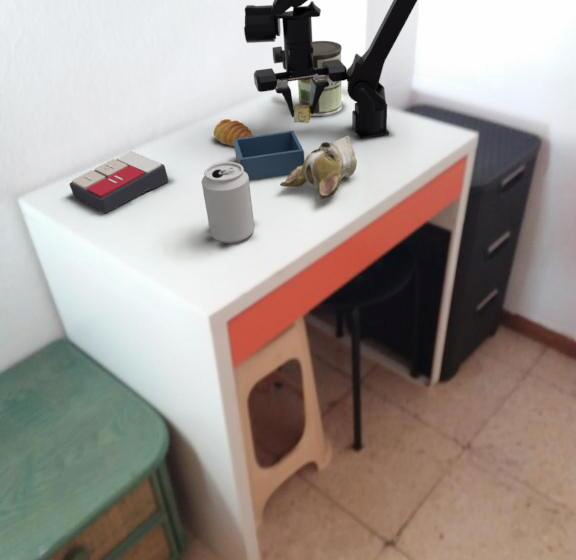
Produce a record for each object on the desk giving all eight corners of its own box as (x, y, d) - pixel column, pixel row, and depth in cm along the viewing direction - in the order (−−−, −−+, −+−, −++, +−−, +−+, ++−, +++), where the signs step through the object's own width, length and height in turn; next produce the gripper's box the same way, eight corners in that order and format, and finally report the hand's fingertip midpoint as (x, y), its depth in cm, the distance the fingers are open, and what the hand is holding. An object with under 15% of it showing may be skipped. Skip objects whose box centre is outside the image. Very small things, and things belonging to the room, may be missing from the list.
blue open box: (294, 151, 126) (293, 130, 123) (305, 172, 118) (303, 150, 115) (236, 159, 124) (233, 139, 122) (242, 181, 117) (239, 159, 114)
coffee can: (297, 117, 140) (293, 55, 132) (301, 100, 148) (297, 41, 140) (341, 116, 139) (340, 53, 130) (343, 99, 147) (342, 39, 139)
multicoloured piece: (66, 179, 114) (130, 147, 122) (74, 199, 117) (136, 166, 125) (99, 196, 108) (164, 161, 116) (106, 216, 111) (169, 181, 119)
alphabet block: (296, 117, 132) (296, 104, 130) (310, 117, 132) (310, 104, 130) (294, 123, 130) (293, 109, 128) (308, 123, 129) (307, 109, 127)
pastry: (262, 141, 131) (260, 124, 129) (238, 152, 127) (236, 135, 125) (234, 130, 137) (231, 114, 134) (210, 140, 133) (208, 124, 131)
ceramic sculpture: (371, 133, 109) (320, 170, 101) (372, 175, 114) (324, 213, 106) (325, 121, 115) (273, 155, 107) (328, 162, 120) (279, 197, 112)
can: (211, 224, 105) (200, 161, 98) (254, 219, 105) (246, 156, 98) (210, 248, 99) (198, 182, 92) (256, 243, 99) (248, 177, 92)
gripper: (333, 24, 128) (335, 96, 137) (246, 35, 126) (254, 107, 135) (347, 38, 119) (348, 114, 129) (254, 50, 117) (262, 126, 127)
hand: (302, 115), depth 130 cm, fingers closed on alphabet block, 4 cm apart
